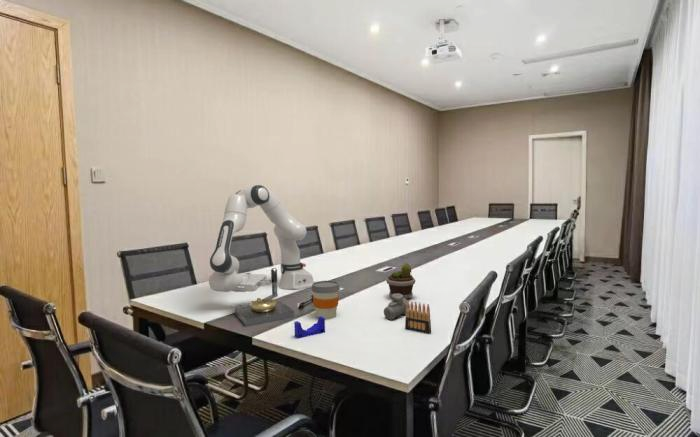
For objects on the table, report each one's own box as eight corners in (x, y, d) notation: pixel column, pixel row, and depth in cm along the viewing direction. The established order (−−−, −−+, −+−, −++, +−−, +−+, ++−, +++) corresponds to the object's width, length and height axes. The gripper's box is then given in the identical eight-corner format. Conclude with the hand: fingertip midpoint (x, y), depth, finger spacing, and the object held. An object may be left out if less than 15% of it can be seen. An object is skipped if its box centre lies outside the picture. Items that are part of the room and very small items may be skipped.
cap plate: (279, 306, 196) (278, 299, 195) (294, 317, 178) (294, 310, 178) (234, 313, 184) (234, 307, 184) (246, 326, 167) (245, 319, 167)
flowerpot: (381, 298, 205) (380, 261, 203) (398, 292, 216) (398, 257, 215) (403, 304, 195) (403, 264, 194) (420, 297, 206) (420, 260, 205)
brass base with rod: (267, 313, 174) (266, 276, 173) (246, 310, 178) (245, 274, 177) (286, 302, 190) (285, 268, 189) (266, 300, 194) (265, 267, 192)
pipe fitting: (396, 310, 184) (396, 289, 182) (410, 315, 179) (410, 294, 177) (380, 319, 176) (380, 298, 174) (394, 325, 170) (394, 303, 168)
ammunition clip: (404, 329, 161) (404, 300, 160) (406, 327, 163) (406, 299, 162) (429, 334, 155) (429, 304, 154) (431, 332, 157) (431, 303, 156)
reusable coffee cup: (329, 322, 171) (328, 288, 169) (306, 317, 177) (306, 285, 176) (345, 314, 181) (344, 282, 180) (323, 310, 188) (322, 279, 187)
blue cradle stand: (320, 329, 163) (319, 315, 162) (325, 332, 159) (324, 318, 158) (293, 335, 157) (292, 320, 156) (297, 339, 153) (297, 324, 152)
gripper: (234, 281, 180) (263, 281, 179) (249, 271, 201) (275, 271, 200) (234, 294, 181) (264, 295, 180) (249, 284, 201) (276, 284, 200)
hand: (270, 282), depth 190 cm, fingers closed
